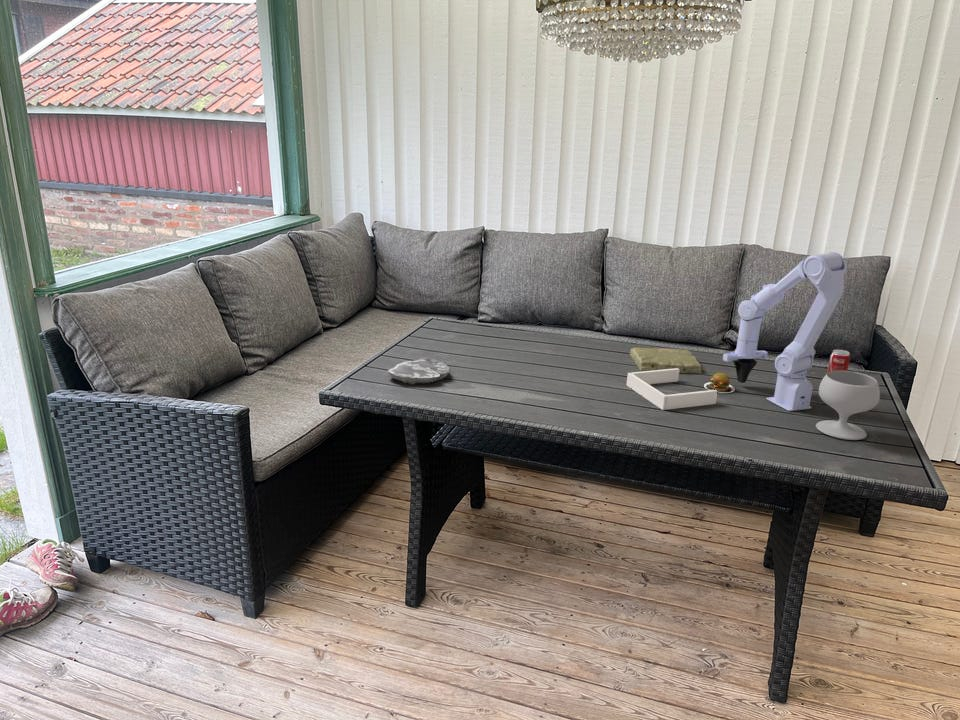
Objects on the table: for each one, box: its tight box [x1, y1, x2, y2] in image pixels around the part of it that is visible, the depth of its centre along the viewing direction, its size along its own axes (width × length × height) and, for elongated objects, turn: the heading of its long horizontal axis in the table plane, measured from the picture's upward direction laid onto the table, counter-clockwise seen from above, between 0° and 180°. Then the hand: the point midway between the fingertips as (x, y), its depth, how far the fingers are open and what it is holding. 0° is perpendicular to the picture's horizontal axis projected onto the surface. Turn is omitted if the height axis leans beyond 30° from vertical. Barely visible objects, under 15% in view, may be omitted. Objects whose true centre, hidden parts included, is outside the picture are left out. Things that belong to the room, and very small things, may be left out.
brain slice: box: [387, 357, 451, 385], centre depth 213 cm, size 20×17×3 cm
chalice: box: [815, 370, 881, 441], centre depth 180 cm, size 14×14×15 cm
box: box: [626, 368, 719, 411], centre depth 204 cm, size 20×18×4 cm
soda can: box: [826, 349, 851, 374], centre depth 210 cm, size 5×5×12 cm
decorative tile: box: [629, 346, 702, 374], centre depth 231 cm, size 19×20×4 cm
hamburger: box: [703, 372, 736, 394], centre depth 210 cm, size 12×12×6 cm
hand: (741, 381), depth 212 cm, fingers closed
